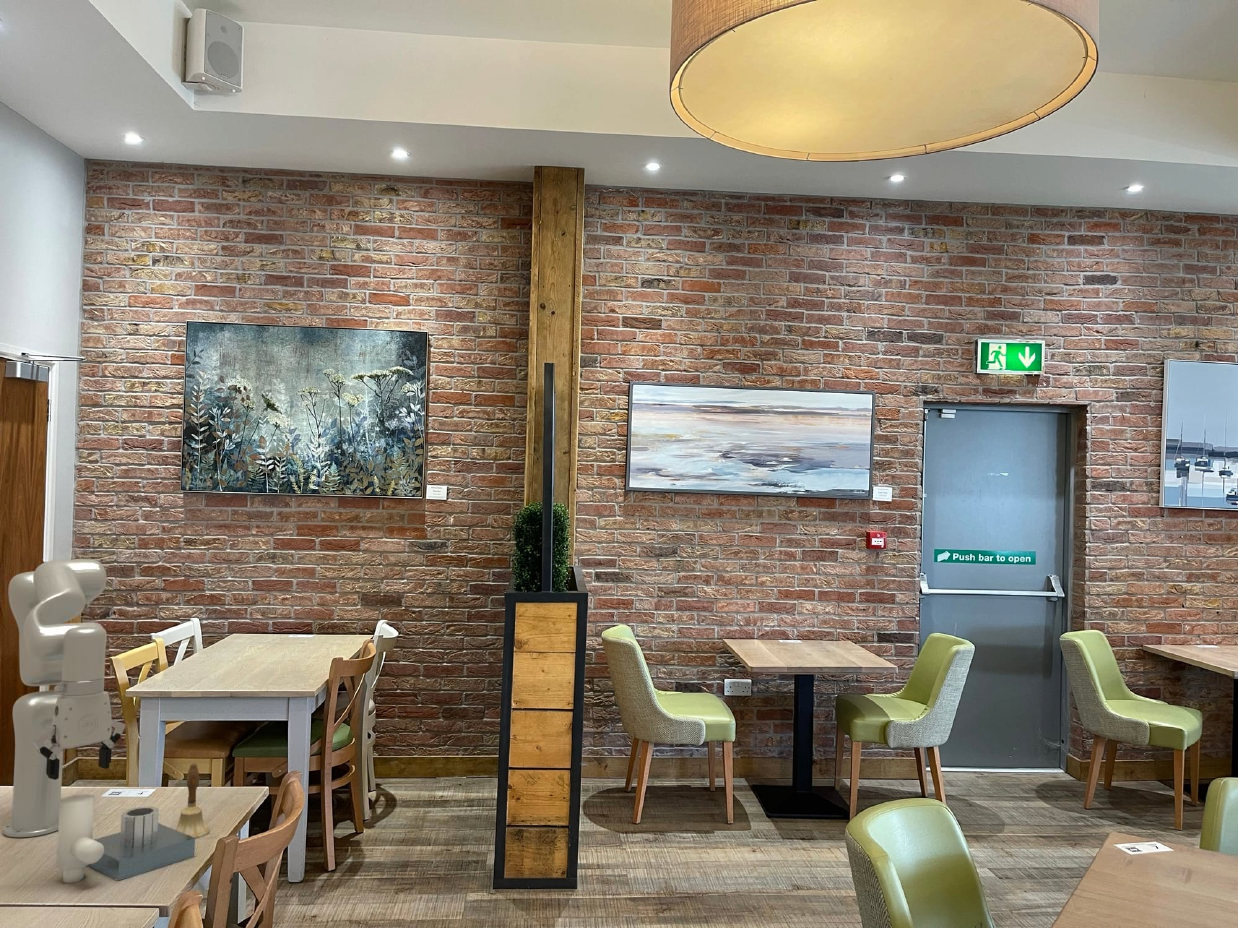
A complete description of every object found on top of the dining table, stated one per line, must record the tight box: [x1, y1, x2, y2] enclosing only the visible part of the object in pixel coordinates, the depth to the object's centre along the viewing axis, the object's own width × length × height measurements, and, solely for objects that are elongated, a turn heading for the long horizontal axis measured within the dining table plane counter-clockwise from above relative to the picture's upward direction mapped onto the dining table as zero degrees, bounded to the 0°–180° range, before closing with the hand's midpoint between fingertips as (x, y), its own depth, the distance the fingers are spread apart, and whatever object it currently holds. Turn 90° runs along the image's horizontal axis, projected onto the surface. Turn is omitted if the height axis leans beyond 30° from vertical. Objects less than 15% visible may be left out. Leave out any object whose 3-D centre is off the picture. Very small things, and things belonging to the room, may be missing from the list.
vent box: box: [88, 806, 196, 882], centre depth 192 cm, size 16×16×10 cm
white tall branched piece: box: [56, 793, 104, 884], centre depth 180 cm, size 11×6×16 cm, turn 55°
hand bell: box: [173, 763, 211, 839], centre depth 207 cm, size 8×8×16 cm
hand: (79, 772), depth 181 cm, fingers open, 9 cm apart
